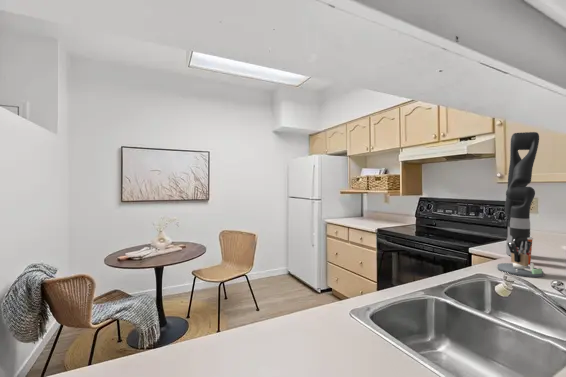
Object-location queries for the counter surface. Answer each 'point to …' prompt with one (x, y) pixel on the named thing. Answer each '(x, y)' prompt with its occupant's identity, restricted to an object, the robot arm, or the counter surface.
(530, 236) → the coffee cup
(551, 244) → the counter surface
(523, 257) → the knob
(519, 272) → the dial plate
